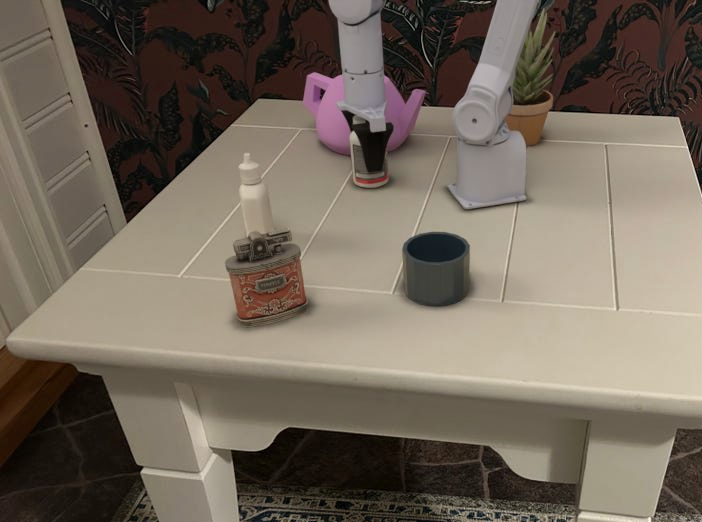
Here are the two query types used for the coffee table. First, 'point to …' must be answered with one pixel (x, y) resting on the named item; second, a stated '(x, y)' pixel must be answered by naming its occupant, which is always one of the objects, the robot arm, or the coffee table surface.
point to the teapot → (333, 122)
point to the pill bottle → (358, 164)
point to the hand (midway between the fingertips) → (369, 163)
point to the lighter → (266, 278)
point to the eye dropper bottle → (254, 198)
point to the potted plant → (531, 87)
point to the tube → (436, 268)
